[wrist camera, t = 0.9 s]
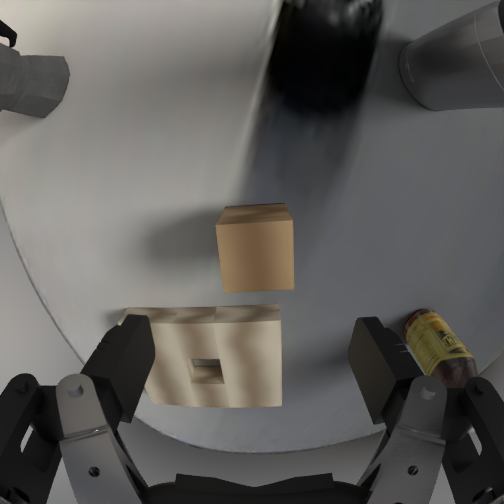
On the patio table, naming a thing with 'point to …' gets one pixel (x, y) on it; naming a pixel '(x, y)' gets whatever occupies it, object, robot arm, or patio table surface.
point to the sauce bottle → (439, 350)
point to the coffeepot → (30, 79)
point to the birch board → (215, 356)
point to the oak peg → (256, 248)
